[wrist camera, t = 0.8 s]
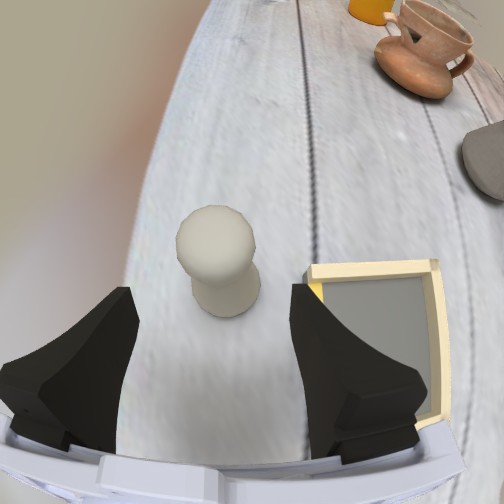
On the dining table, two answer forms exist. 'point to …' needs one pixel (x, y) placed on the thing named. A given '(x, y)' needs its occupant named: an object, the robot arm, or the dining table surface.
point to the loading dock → (395, 318)
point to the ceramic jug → (424, 49)
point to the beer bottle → (370, 10)
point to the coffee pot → (486, 158)
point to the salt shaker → (219, 259)
